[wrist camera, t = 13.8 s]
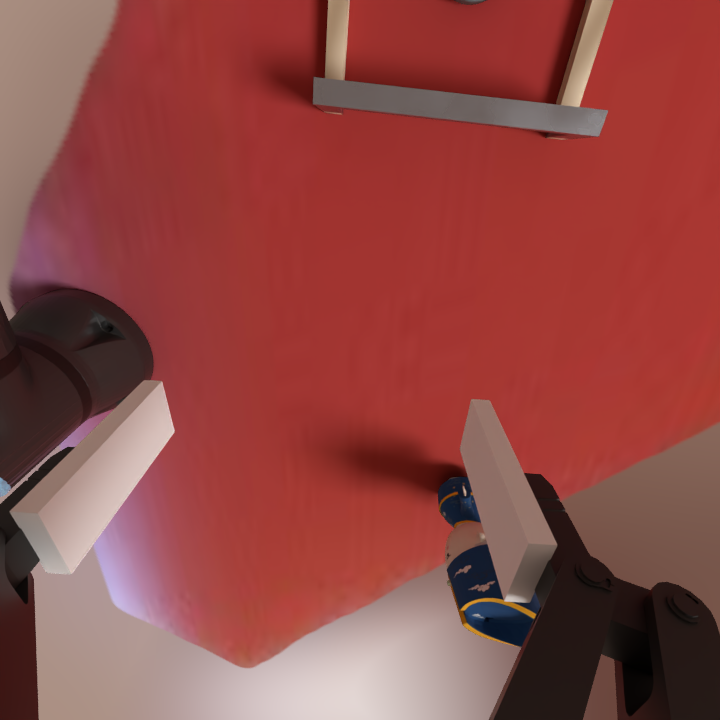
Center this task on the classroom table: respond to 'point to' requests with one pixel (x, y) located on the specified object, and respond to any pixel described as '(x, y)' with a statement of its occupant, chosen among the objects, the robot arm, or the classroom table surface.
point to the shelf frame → (574, 75)
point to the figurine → (478, 572)
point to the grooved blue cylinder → (470, 1)
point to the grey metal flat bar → (458, 108)
